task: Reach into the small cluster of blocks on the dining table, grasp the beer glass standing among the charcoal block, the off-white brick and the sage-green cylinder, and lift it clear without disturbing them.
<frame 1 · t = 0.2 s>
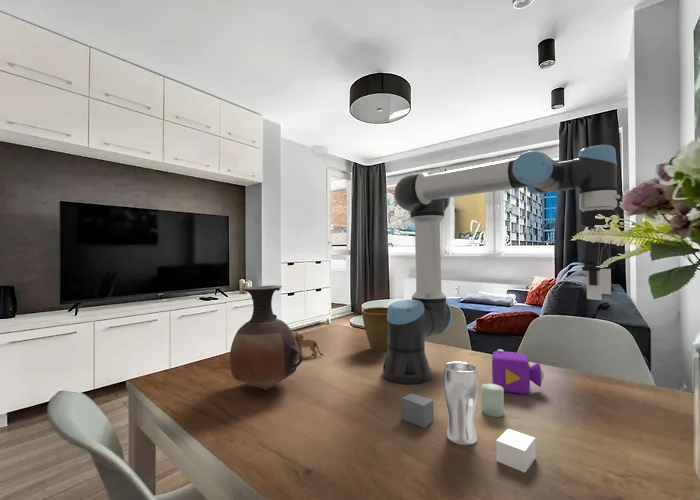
hand: (599, 296, 84), 28 cm above the table, fingers open, 13 cm apart
beer glass: (461, 438, 72), on the table
off-white brick: (516, 460, 64), on the table
toy camera: (516, 389, 98), on the table
lion figurine: (304, 355, 132), on the table
plant pot: (380, 349, 139), on the table
vase: (264, 389, 100), on the table
sage cylinder: (492, 412, 83), on the table
charcoal block: (417, 420, 80), on the table
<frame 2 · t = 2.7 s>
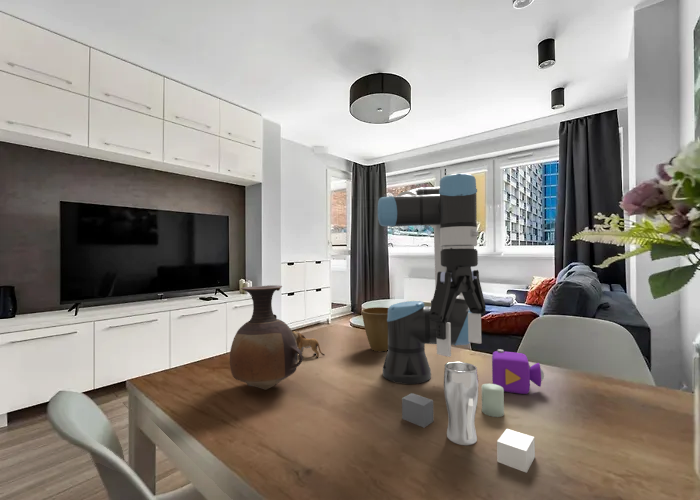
hand: (460, 348, 72), 19 cm above the table, fingers open, 13 cm apart
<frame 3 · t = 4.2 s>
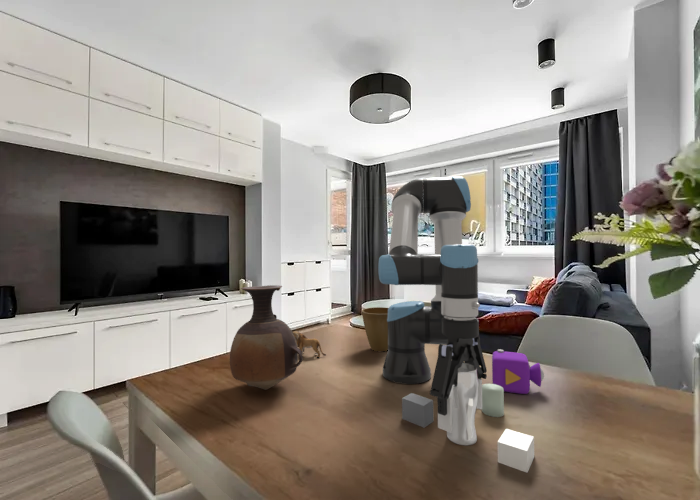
hand: (461, 417, 72), 4 cm above the table, fingers open, 13 cm apart
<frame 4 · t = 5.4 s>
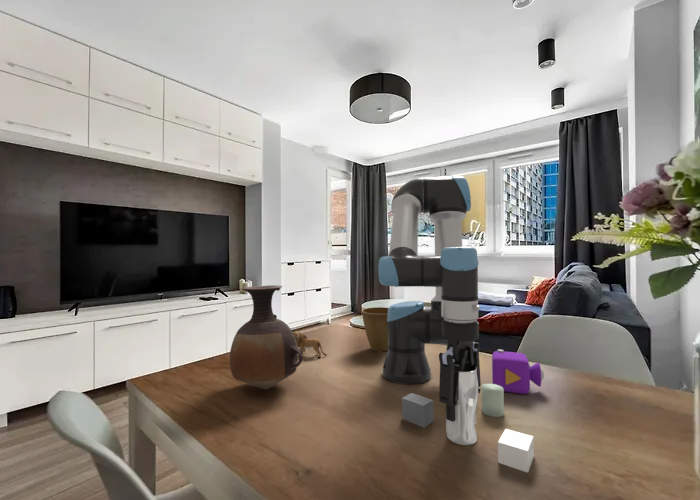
hand: (461, 428, 72), 2 cm above the table, fingers closed on beer glass, 6 cm apart
beer glass: (461, 438, 72), on the table, touching gripper
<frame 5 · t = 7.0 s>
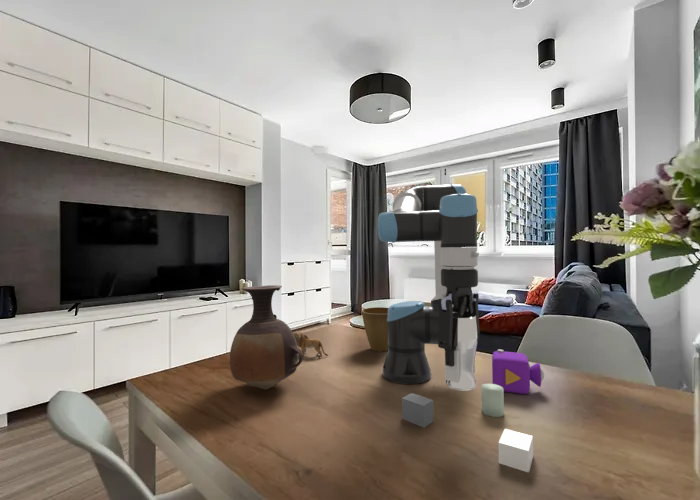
hand: (460, 375, 73), 13 cm above the table, fingers closed on beer glass, 6 cm apart
beer glass: (460, 385, 73), point 11 cm above the table, touching gripper
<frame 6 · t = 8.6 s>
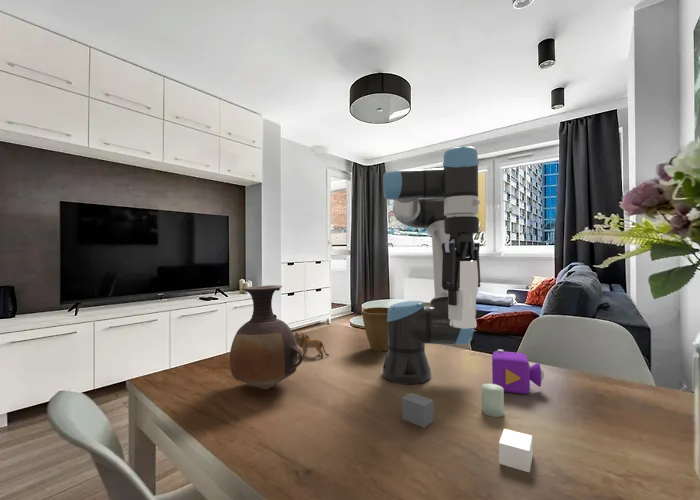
hand: (462, 316, 78), 24 cm above the table, fingers closed on beer glass, 6 cm apart
beer glass: (462, 326, 78), point 22 cm above the table, touching gripper
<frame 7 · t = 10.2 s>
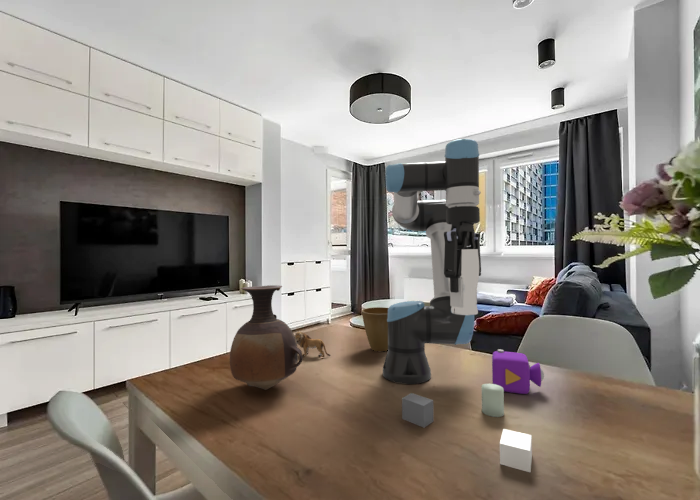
hand: (464, 304, 80), 27 cm above the table, fingers closed on beer glass, 6 cm apart
beer glass: (464, 313, 80), point 25 cm above the table, touching gripper
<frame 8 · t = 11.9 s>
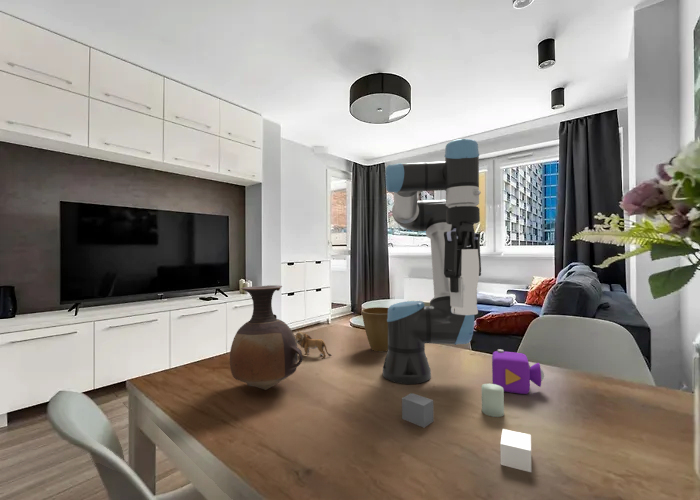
hand: (464, 304, 80), 27 cm above the table, fingers closed on beer glass, 6 cm apart
beer glass: (464, 313, 80), point 25 cm above the table, touching gripper
at the end: the gripper is holding beer glass; beer glass point 24.7 cm above the table; off-white brick moved 0.2 cm from its start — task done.
